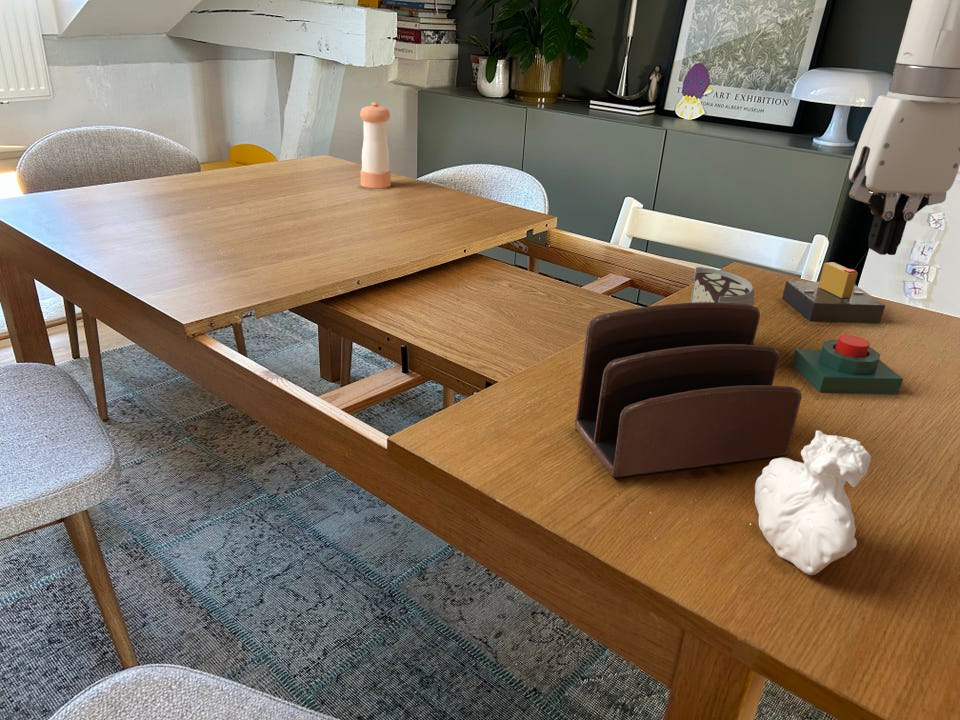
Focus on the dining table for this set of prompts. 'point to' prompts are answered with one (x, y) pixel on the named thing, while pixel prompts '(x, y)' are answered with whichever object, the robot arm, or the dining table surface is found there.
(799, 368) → the button box
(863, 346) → the button
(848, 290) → the knob
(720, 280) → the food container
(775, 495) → the white tied bag
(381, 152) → the salt shaker
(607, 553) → the dining table surface
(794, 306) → the panel
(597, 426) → the letter holder
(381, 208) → the dining table surface
